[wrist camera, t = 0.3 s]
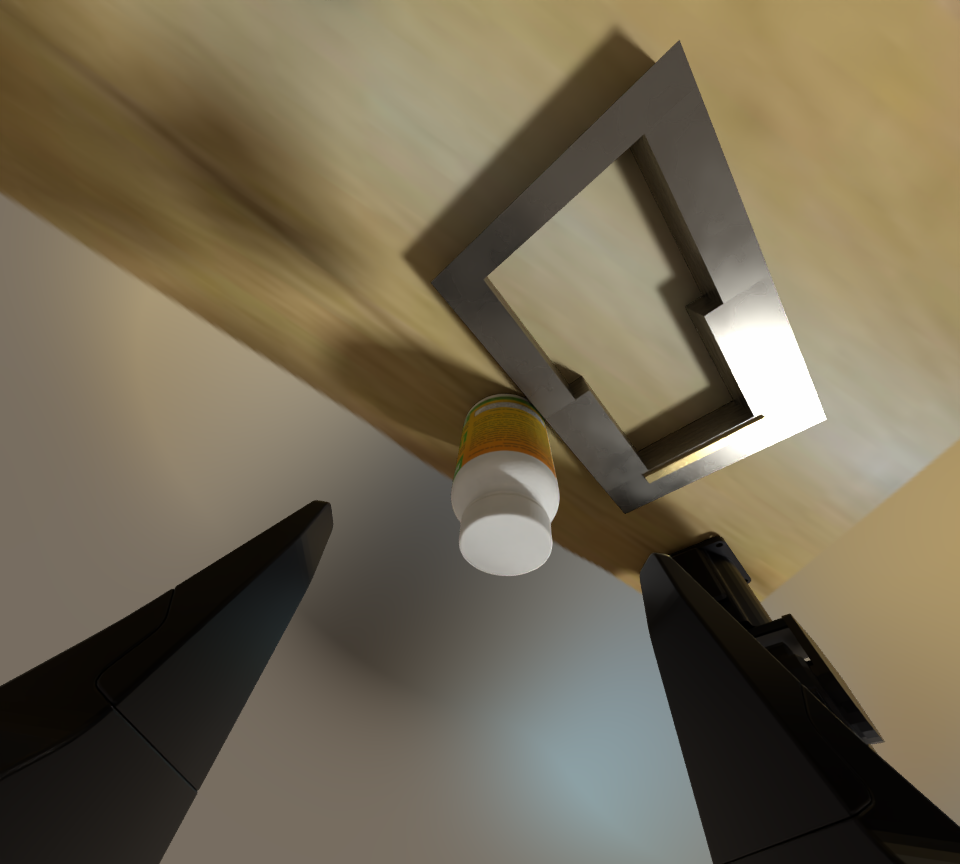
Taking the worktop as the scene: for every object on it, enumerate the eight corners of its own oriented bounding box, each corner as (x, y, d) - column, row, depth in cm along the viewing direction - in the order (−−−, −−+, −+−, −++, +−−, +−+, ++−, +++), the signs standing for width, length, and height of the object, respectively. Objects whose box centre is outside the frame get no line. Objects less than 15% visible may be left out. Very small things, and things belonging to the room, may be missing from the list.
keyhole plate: (799, 402, 20) (829, 420, 19) (616, 493, 25) (625, 516, 23) (656, 62, 13) (682, 36, 11) (437, 276, 18) (429, 283, 16)
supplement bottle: (455, 397, 22) (426, 507, 13) (541, 385, 21) (566, 493, 13) (472, 465, 24) (457, 590, 16) (548, 456, 24) (573, 583, 15)
